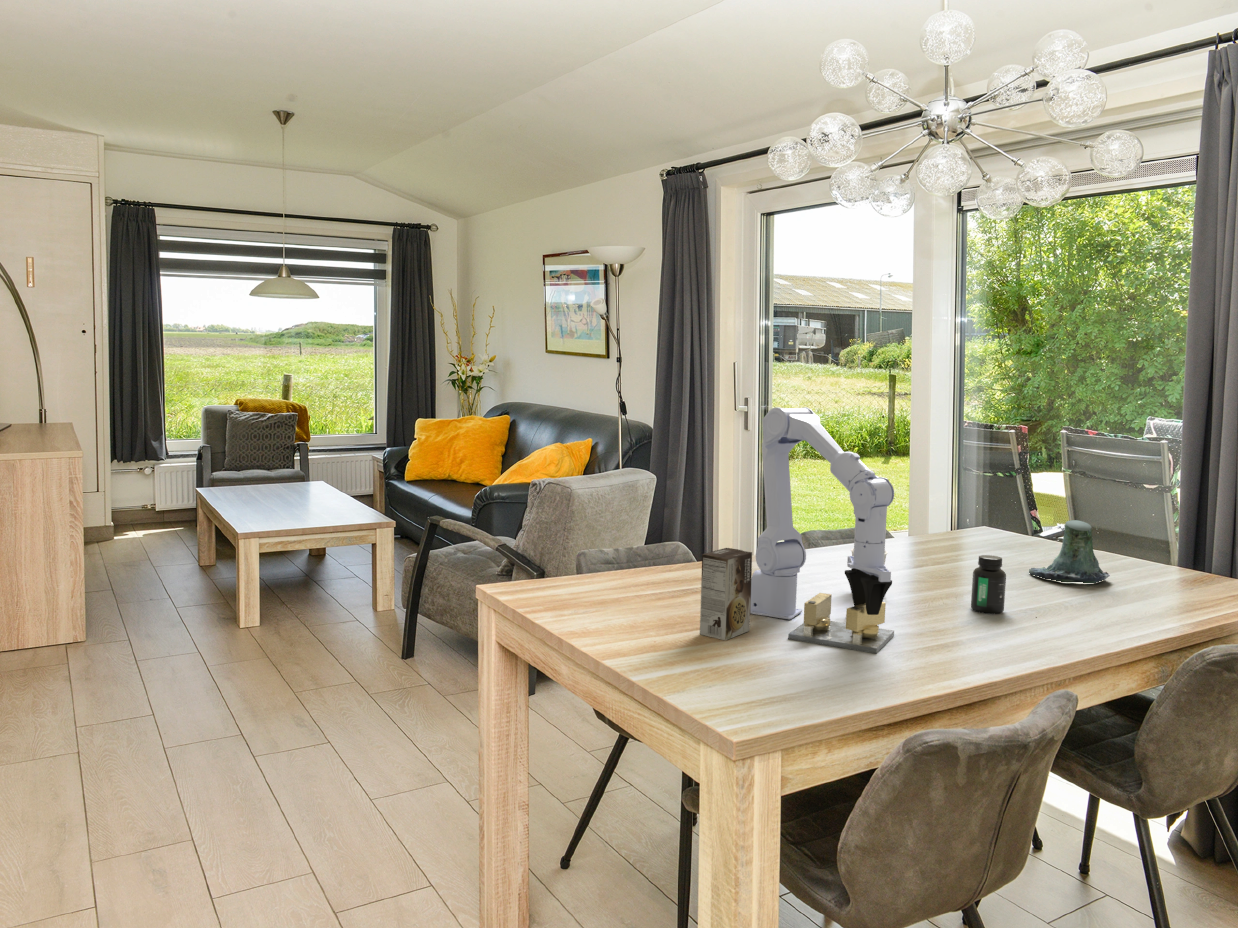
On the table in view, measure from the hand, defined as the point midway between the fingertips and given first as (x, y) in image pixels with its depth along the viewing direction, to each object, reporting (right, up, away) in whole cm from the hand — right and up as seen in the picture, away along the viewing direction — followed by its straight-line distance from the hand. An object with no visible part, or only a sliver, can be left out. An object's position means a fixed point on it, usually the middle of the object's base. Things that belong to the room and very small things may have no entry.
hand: (866, 610), depth 179 cm
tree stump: (+69, -2, +61) cm, 92 cm away
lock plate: (-4, -6, +3) cm, 7 cm away
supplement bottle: (+34, -4, +26) cm, 43 cm away
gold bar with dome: (0, -5, +1) cm, 5 cm away
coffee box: (-27, -5, +4) cm, 28 cm away
